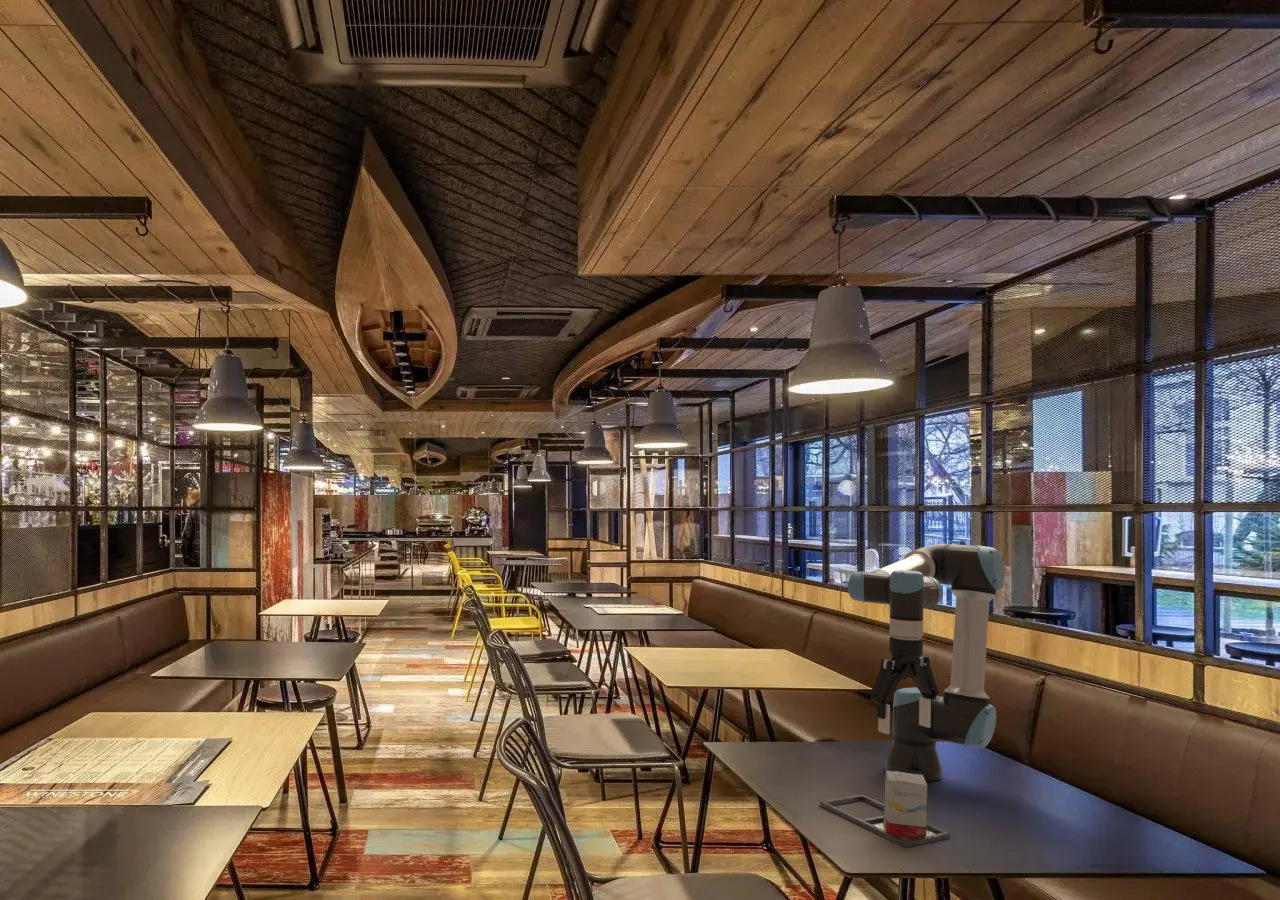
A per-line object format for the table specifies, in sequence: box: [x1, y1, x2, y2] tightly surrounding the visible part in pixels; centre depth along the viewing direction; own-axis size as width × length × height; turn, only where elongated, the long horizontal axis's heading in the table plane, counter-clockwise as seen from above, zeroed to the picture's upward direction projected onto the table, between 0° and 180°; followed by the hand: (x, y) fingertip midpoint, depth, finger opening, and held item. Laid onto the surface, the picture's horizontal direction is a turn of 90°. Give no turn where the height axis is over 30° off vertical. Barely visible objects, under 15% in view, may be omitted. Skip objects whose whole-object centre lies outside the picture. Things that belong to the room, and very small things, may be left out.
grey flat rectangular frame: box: [819, 794, 951, 849], centre depth 191 cm, size 14×27×1 cm, turn 30°
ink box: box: [883, 770, 928, 838], centre depth 186 cm, size 9×9×12 cm
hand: (904, 729), depth 191 cm, fingers open, 13 cm apart
